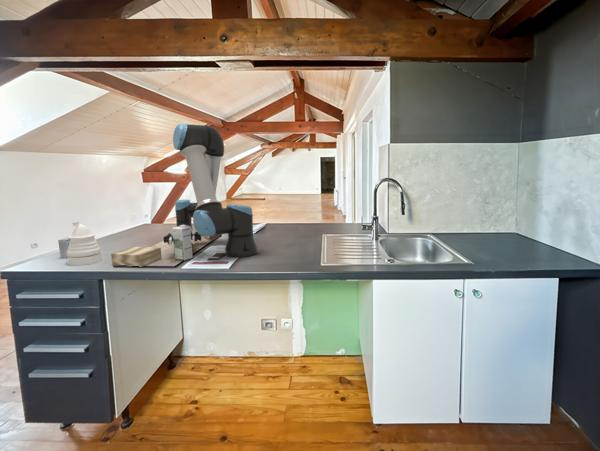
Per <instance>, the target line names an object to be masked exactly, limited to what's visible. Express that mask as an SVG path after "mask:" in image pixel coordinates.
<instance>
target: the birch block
mask: <svg viewBox="0 0 600 451" xmlns="http://www.w3.org/2000/svg"><path fill="white" fill-rule="evenodd" d="M110 256H111V265H112V266H117V265H132V266H139V268H141V267H144V266H143V265H145V264H147V265H149V264H152V263H154V262H156V260H157V261H159V260H161V259H162V248H161V247H153V246H149V247H148V246H132V247H127V248H126V249H122V250H119V251H115V252H113V253H111V254H110ZM151 262H152V263H151ZM148 263H149V264H148ZM132 266H131V267H132ZM145 266H146V265H145Z"/></svg>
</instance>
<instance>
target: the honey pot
mask: <svg viewBox="0 0 600 451" xmlns="http://www.w3.org/2000/svg"><path fill="white" fill-rule="evenodd" d="M79 223H80V221H72V222H71V224H72V226H74V227H75V229H74V230H73V232H72V235H69V236H67V238H69V239H70V243H69V247H68V250H67V258H66V259H67V264H68V266H85V265H92V264H96V263H99V262H101V261H102V259H103V258H102V252H101V250H102V249H101V247H100V246H99V243H98V240H96V238H95V236H96V234H94V233H92V231H91V230H90V229H89V228H88V227H87V225H84V224H79Z"/></svg>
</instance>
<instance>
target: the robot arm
mask: <svg viewBox="0 0 600 451" xmlns="http://www.w3.org/2000/svg"><path fill="white" fill-rule="evenodd" d="M172 135H173V136H172V143H173V147H174V149H175V150H177V151H179V152H180V155H181V156H182V158H185V161H186V164H187V169H188V172H189V176H190V180H191V184H192V188H193V192H194V195H195V196H194V197H195V199H196V202H191V200H190V199H177V200H176V201H175V205H174V210H175V220H176V221H175V222H176V224H175V225H176V227H178V226H186V227H190V229H191V241H192V245H195V244H196V242H198V241H199V242H201V241H202V237H214V236H220V235H225V234H226V235H227V241H226V244H225V249H224V254H225V256H227V257H232V258H244V257H250V256H255V255H256V254H258V246H257V243H256V241H255V237H254V220H253V219H254V218H253V217H254V215H253V209H252V207H251V206H249V205H244V204H232V203H231V204H226V206H225V207H223V205H222V202H221V201H219V200H218V199H217V196H216V195H217V187H218V179H219V173H220V169H221V168H220V167H221V160H222V158H223V157H224V155H225V144H224V140H223V137H222V135H221V133H220V132H219V131H218V130H217V129H216V128H215V127H214V126H211V125H207V124H206V125H203V124H188V123H179V124H177V125H176V126H175V128H174V130H173V134H172ZM193 226H194V229H195V232H193ZM163 243H164V244H166V243H167V245H169V247H172V246H173V233H167V234H166V235H165V236H164V237H163Z"/></svg>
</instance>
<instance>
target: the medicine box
mask: <svg viewBox="0 0 600 451" xmlns="http://www.w3.org/2000/svg"><path fill="white" fill-rule="evenodd" d="M57 242H58V249H59V256H60V257H59V258H61V259H67V250H68V247H69V243H70V239H69V238H68V237H66V238H62V239H58V241H57Z"/></svg>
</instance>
